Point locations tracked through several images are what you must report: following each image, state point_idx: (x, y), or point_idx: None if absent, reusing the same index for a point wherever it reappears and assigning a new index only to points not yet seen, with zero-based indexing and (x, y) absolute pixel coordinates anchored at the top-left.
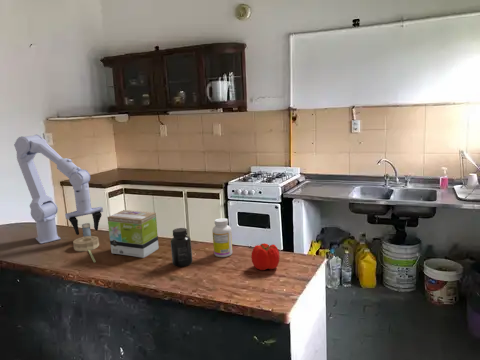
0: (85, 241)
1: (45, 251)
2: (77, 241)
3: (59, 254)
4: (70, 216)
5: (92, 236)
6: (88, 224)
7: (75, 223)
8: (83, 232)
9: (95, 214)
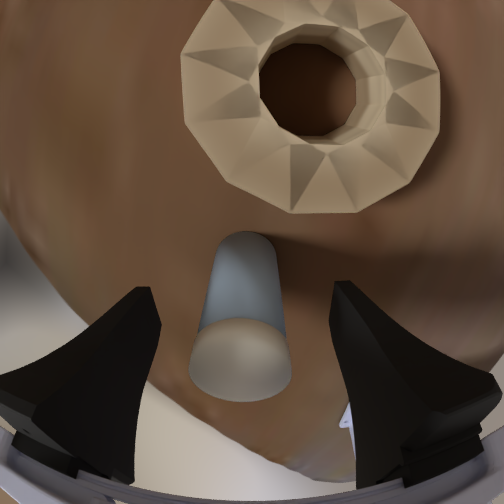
0: (309, 139)
1: (496, 236)
2: (409, 107)
3: (485, 111)
4: (461, 474)
5: (222, 154)
6: (210, 356)
7: (430, 365)
8: (281, 302)
9: (54, 440)
